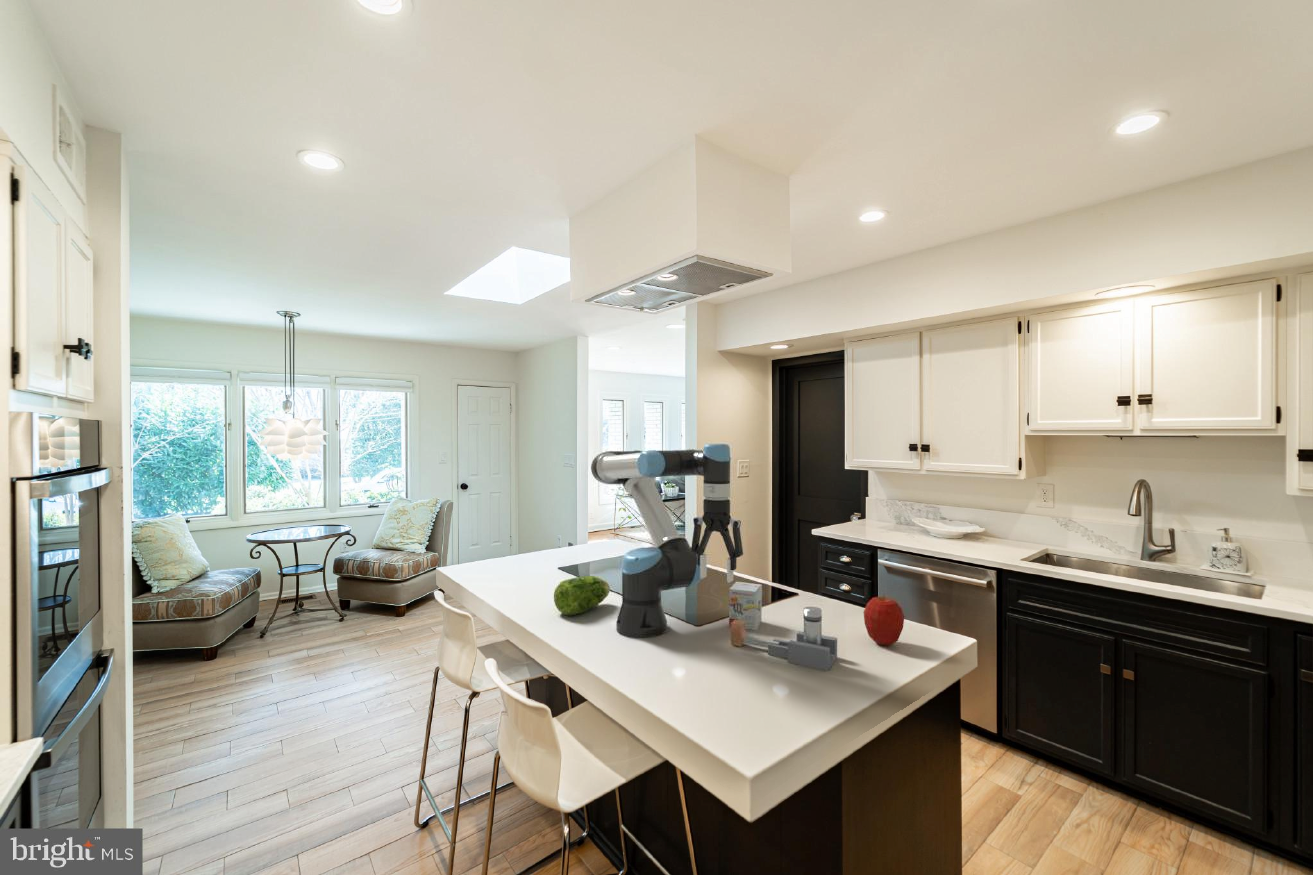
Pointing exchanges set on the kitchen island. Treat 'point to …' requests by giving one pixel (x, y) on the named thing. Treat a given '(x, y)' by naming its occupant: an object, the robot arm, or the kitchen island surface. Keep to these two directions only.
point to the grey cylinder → (813, 625)
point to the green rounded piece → (580, 594)
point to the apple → (883, 620)
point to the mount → (806, 652)
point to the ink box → (746, 604)
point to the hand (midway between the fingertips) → (716, 579)
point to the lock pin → (741, 639)
